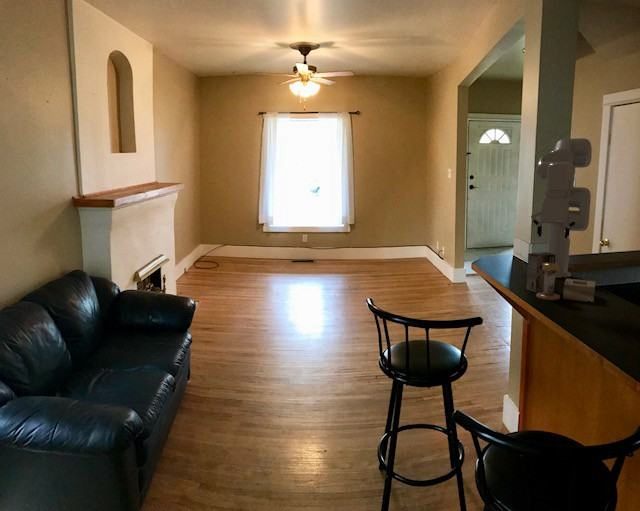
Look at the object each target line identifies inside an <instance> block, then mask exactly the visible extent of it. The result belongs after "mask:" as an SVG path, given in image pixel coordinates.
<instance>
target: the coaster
mask: <svg viewBox="0 0 640 511" xmlns="http://www.w3.org/2000/svg"><path fill="white" fill-rule="evenodd" d="M535 294H536V295H535V296H536V298H538V299H541V300H545V301H559V300H560V299H561V295H560V294H559V293H555V292H554V296H545V295H543V292H536V293H535Z"/></svg>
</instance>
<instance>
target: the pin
mask: <svg viewBox="0 0 640 511" xmlns="http://www.w3.org/2000/svg"><path fill="white" fill-rule="evenodd" d="M558 269H559V264H557V263H543V266H542V271H543V272H545V275H544V288H543V295H545V296H554V293H555V282H556V277H555V273H557V272H558Z"/></svg>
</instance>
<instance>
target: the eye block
mask: <svg viewBox="0 0 640 511" xmlns="http://www.w3.org/2000/svg"><path fill="white" fill-rule="evenodd" d="M595 290H596V281H594V280H583V279H572V278H565V281H564V284H563V293H562V294H563V295H562V299H564V300H571V301H579V302H588V301H590V302H589V303H594V300H595Z"/></svg>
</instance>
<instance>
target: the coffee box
mask: <svg viewBox="0 0 640 511" xmlns="http://www.w3.org/2000/svg"><path fill="white" fill-rule="evenodd" d="M527 255H528V256H527V271H526V290H528V291H531V292H533V293H539V292H543V288H544V275H545V272H543V271H542V266H543V263H555V254H551V253H547V251H545V252H544V251H542V252H531V253H527Z"/></svg>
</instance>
